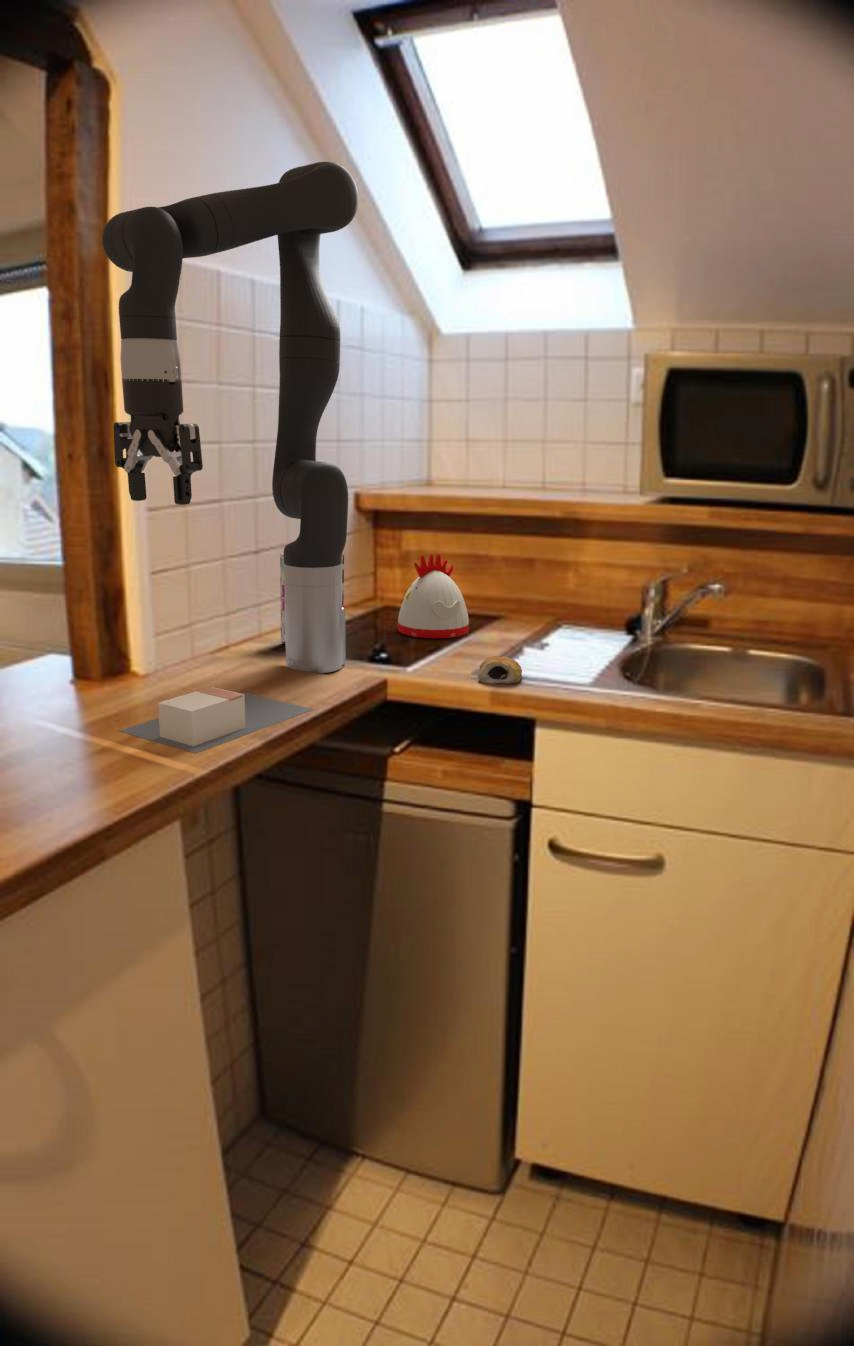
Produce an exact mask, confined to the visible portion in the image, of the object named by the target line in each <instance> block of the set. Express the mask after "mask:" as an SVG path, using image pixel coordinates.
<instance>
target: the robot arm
mask: <svg viewBox="0 0 854 1346" xmlns="http://www.w3.org/2000/svg"><path fill="white" fill-rule="evenodd" d="M355 181H356V180H355V179H354V177H353V176H352V174H351V173H350V172H349V170H347V168H345V167H344V166H343V165H341V164H339V163H337V162H333V161H318V162H314V163H310V164H305V165H301V166H297V167H293V168H290V169H288V170H287V171H286V172H284V173H283V174H282V176H281V177H280V178H279V180H278V182H276V183H272V184H267V185H261V186H260V185H259V186H255V187H254V186H253V187H248V188H241V189H233V190H226V191H225V190H223V191H219V192H213V193H208V194H204V195H198V196H195V197H189V198H186V199H183V200H180V201H178V202H174V203H172V204H169V205H164V206H158V207H157V206H144V207H140V208H137V209H132V210H128V211H124V212H120V213H117V214H115V215H114V216H112V217H111V218H110V219H109V220H108V222H107V223H106V224H105V226H104V229H103V230H102V235H101V236H102V238H101V240H102V247H103V250H104V253H105V255H106V256H107V258H108V259H109V260H110V262H112V263H113V265H115V266H116V267H118V268H119V269H121V270H124V271H126V272H131V283H130V286H129V288H128V289H127V290H126V291H125V292H123V293H122V294H121V295H120V297H119V299H118V317H119V318H118V319H119V320H118V321H119V331H120V355H119V356H120V371H121V382H122V383H121V384H122V396H123V397H122V398H123V408H124V409H123V411H124V412H125V414H126V415H129V416H130V421H126V422H125V421H121V422H119V421H117V422H116V421H115V422H114V423H113V427H112V429H113V443H114V445H113V449H114V450H113V451H114V466H115V467H117V468H121V469H123V470H124V471H125V473H127V474H126V475H127V480H128V481H127V483H128V493H129V496H130V500H131V501H134V502H140V501H141V502H142V501H146V500H147V497H148V496H147V487H146V486H147V485H146V484H147V483H146V473H145V472H144V471H145V468H146V466H147V465H148V464H147V463H148V462H149V461H150V460H151V459H152V458H153V457H156V458H161V459H162V461H163V462H164V463H166V464H167V465H168V466H169V467H170V470H171V471H172V473H173V475H174V476H172V481H173V482H172V484H173V485H172V486H173V498H174V499H173V500H174V504H175V505H177V506H185V505H190V503H191V500H192V496H193V495H192V475H193V474H194V473H195V472H199V471H202V470H203V467H204V465H203V456H202V447H201V446H202V444H201V435H200V427H199V425H198V424H197V423H181V422H180V416H181V415H182V414H183V413H184V398H183V396H184V395H183V383H182V382H183V381H182V367H181V365H182V364H181V356H180V351H179V345H178V336H177V320H176V319H177V318H176V301H177V297H178V292H179V286H180V280H181V274H182V267H183V259H190V258H191V259H192V258H200V257H201V258H202V257H206V256H211V255H215V254H218V253H222V252H225V251H230V250H233V249H236V248H239V247H242V246H245V245H249V244H252V243H255V242H259V241H261V240H264V239H268V238H272V237H274V236H277V248H278V257H279V293H280V294H279V297H280V300H279V301H280V304H279V305H280V308H279V309H280V312H279V313H280V314H279V315H280V316H279V317H280V319H279V320H280V323H279V324H280V325H279V341H278V342H279V345H278V346H279V351H278V359H279V361H278V366H279V367H278V368H279V389H278V392H279V393H278V415H277V416H278V417H277V418H278V420H277V434H276V435H277V436H276V443H275V452H274V460H273V461H274V462H273V468H272V469H273V470H272V482H271V487H272V488H271V489H272V497H273V501H274V504H275V506H276V508H277V510H278V511H279V512H280V513H282V515H284V517H288V518H291V519H298V520H300V524H299V525H300V526H299V534H298V536H297V538H296V539H294V541H292V542H290V543H287V544H286V545H285V546H284V548H283V554H284V589H285V641H286V644H285V667H287V668H288V669H290V670H294V671H300V672H309V673H314V674H326V673H331V672H336V671H339V670H340V669H341V668H343V665H346V663H347V662H346V658H347V657H346V609H345V608H344V606H343V607H342V564H341V563H342V553H344V549H345V547H346V543H347V535H348V515H349V513H348V512H349V491H348V483H347V480H346V477H345V474H344V473H343V471H342V469H341V468H340V467H339V466H337V465H336V464H334V463H331V462H327V461H318V460H317V458H316V457H317V455H316V452H317V436H318V429H319V425H320V422H321V418H322V417H323V413H324V412H325V410H326V408H327V407H328V404H329V401H330V399H331V397H332V395H333V393H334V390H335V388H336V385H337V382H338V380H339V379H338V378H339V372H340V365H341V328H340V323H339V321H338V318H337V314H336V311H335V309H334V307H333V304H332V301H331V300H330V297H329V295H328V293H327V291H326V287H325V286H324V285H325V284H324V283H323V280H322V279H323V278H322V275H321V269H320V268H321V267H320V241H321V235H323V234H329V233H334V232H337V231H340V230H343V229H344V228H345V227H347V226H348V225H349V224H350V223H351V222H352V221H353V220H354V218H355V217H356V214H357V211H358V207H359V191H358V187H357V184H356V182H355ZM124 450H125V457H124ZM191 453H192V457H191Z"/></svg>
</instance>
